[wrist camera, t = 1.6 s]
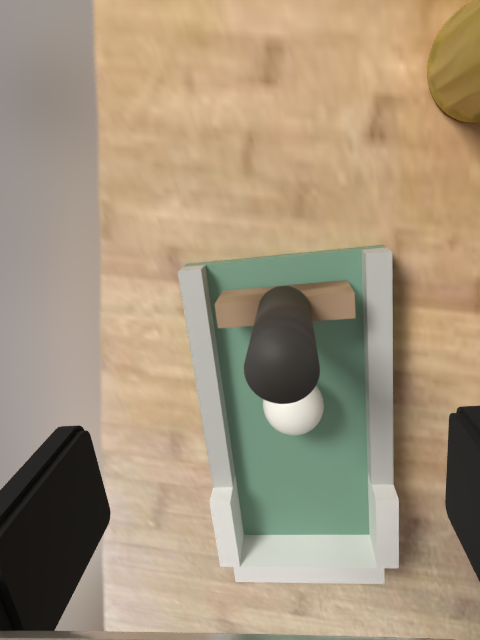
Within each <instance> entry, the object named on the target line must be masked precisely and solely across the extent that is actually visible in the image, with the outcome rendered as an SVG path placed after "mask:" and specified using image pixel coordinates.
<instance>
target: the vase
mask: <svg viewBox="0 0 480 640" xmlns="http://www.w3.org/2000/svg"><path fill="white" fill-rule="evenodd" d="M427 76H428V84H429V89H430V91H431V94H432V96H433V98H434V100H435V102H436V103H437V105H438V106H439V107H440V108H441V109H442V110H443V111H444V112H445V113H446V114H448V115H449V116H451V117H453V118H455V119H457V120H459V121H463V122H469V123H480V0H473V1H472V2H470V3H468V4H466V5H465V6H463V7H462V8H461V9H459V10H458V11H457V12H456V13H455V14H454V15H453V16H452V17H451V18H450V19H449V20H448V21H447V22H446V24H445V25H444V26H443V27H442V29H441V30H440V32H439V33H438V35H437V37H436V39H435V41H434V43H433V45H432V48H431V52H430V55H429V61H428V70H427Z"/></svg>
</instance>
